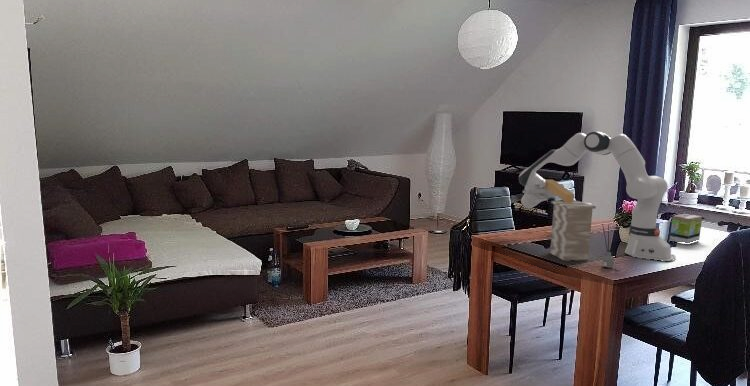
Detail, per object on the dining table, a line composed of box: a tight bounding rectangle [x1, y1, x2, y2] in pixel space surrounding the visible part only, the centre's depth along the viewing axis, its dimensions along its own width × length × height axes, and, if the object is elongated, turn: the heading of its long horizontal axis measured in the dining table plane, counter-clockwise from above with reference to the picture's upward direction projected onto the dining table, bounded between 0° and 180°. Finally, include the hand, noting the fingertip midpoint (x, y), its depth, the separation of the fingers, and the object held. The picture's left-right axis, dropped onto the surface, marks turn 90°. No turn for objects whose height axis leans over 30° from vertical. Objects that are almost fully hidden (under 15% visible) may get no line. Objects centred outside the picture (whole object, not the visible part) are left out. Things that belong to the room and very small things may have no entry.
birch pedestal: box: [549, 200, 597, 262], centre depth 268 cm, size 16×14×26 cm
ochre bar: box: [545, 179, 575, 202], centre depth 278 cm, size 22×4×4 cm, turn 11°
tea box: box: [669, 213, 703, 243], centre depth 305 cm, size 15×10×15 cm
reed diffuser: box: [601, 223, 621, 271], centre depth 250 cm, size 10×7×20 cm
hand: (551, 183), depth 286 cm, fingers closed on ochre bar, 4 cm apart
